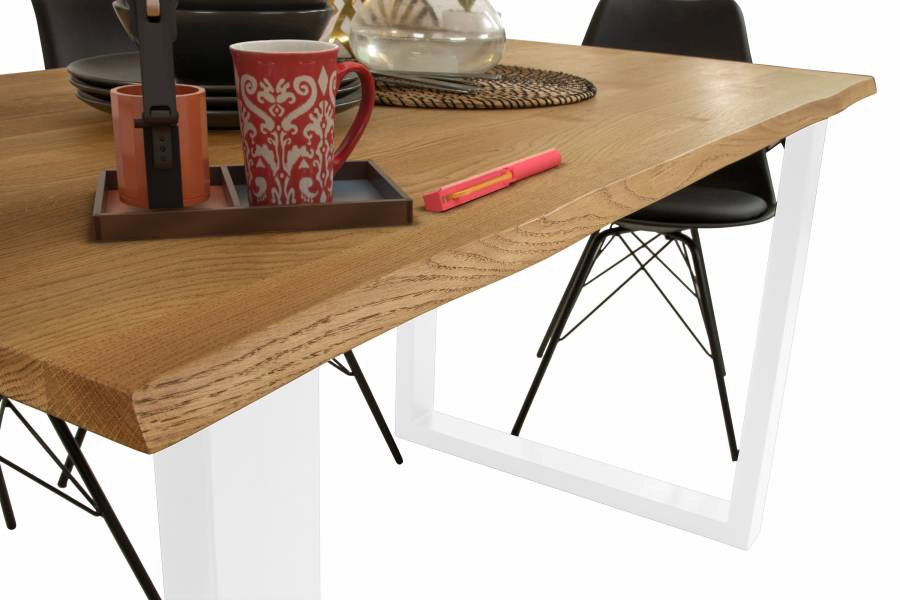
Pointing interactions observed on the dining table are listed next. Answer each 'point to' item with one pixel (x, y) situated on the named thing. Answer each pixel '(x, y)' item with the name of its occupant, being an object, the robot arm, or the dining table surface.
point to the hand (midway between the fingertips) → (164, 194)
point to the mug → (294, 118)
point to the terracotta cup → (132, 144)
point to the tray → (254, 208)
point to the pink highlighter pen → (490, 181)
